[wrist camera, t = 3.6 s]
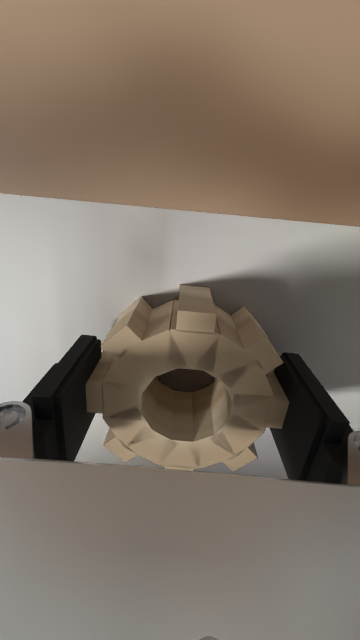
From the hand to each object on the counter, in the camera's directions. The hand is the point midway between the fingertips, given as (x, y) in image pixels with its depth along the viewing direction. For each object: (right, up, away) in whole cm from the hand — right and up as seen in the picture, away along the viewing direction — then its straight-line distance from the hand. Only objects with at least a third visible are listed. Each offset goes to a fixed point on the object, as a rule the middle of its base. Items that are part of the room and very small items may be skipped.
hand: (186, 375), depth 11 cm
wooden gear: (0, 0, +1) cm, 1 cm away
